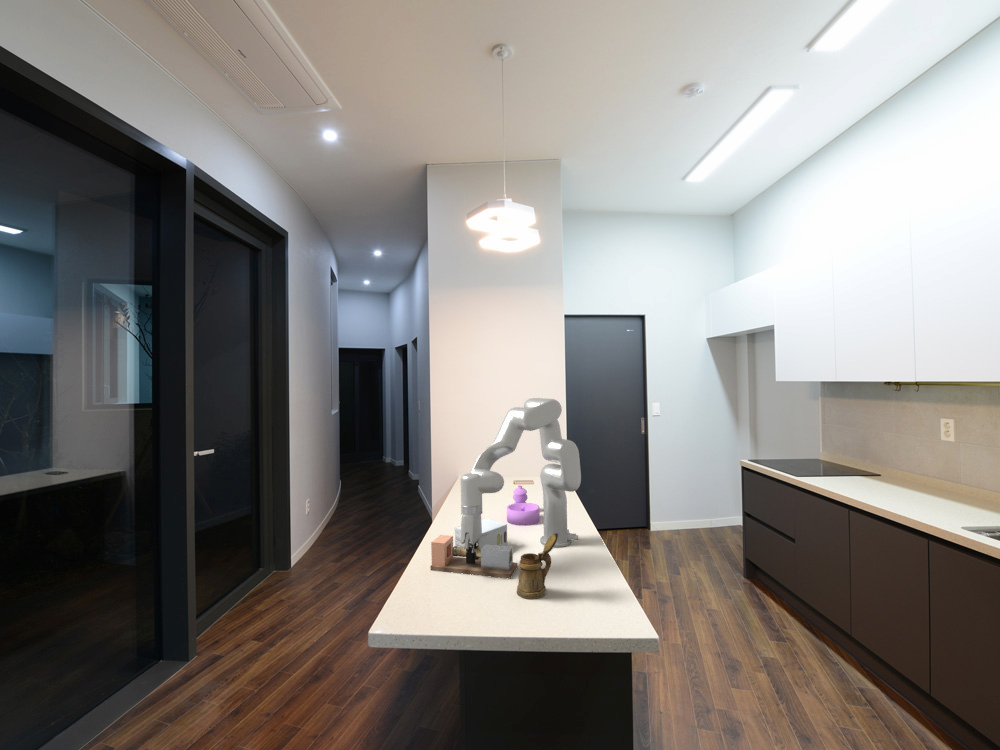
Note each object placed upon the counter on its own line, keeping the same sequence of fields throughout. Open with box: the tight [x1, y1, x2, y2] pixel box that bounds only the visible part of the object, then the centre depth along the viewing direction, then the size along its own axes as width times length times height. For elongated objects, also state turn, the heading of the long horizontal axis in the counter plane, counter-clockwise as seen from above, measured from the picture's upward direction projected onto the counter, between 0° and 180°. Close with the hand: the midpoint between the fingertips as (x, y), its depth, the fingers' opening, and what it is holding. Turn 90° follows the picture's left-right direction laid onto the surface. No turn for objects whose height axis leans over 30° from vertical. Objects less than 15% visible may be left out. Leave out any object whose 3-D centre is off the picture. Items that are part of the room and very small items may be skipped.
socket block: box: [430, 534, 454, 566], centre depth 168 cm, size 5×8×8 cm, turn 164°
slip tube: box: [452, 545, 511, 561], centre depth 164 cm, size 20×3×3 cm, turn 74°
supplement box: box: [454, 518, 508, 549], centre depth 184 cm, size 17×13×9 cm
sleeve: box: [481, 544, 514, 571], centre depth 162 cm, size 10×5×6 cm, turn 74°
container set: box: [506, 484, 541, 527], centre depth 224 cm, size 25×15×13 cm, turn 3°
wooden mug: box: [516, 533, 558, 600], centre depth 146 cm, size 9×14×18 cm, turn 98°
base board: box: [430, 556, 518, 580], centre depth 164 cm, size 29×10×2 cm, turn 74°
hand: (472, 560), depth 165 cm, fingers closed on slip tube, 3 cm apart
